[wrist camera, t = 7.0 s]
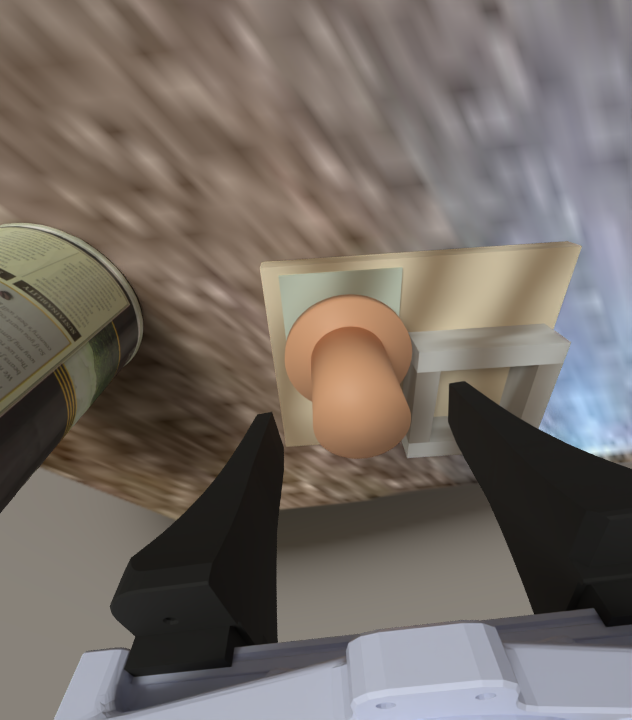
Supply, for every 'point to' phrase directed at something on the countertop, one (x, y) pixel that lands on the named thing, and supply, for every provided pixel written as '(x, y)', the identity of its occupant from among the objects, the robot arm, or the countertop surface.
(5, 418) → the coffee can
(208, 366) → the countertop surface
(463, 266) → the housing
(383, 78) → the countertop surface
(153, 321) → the countertop surface
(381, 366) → the end cover
